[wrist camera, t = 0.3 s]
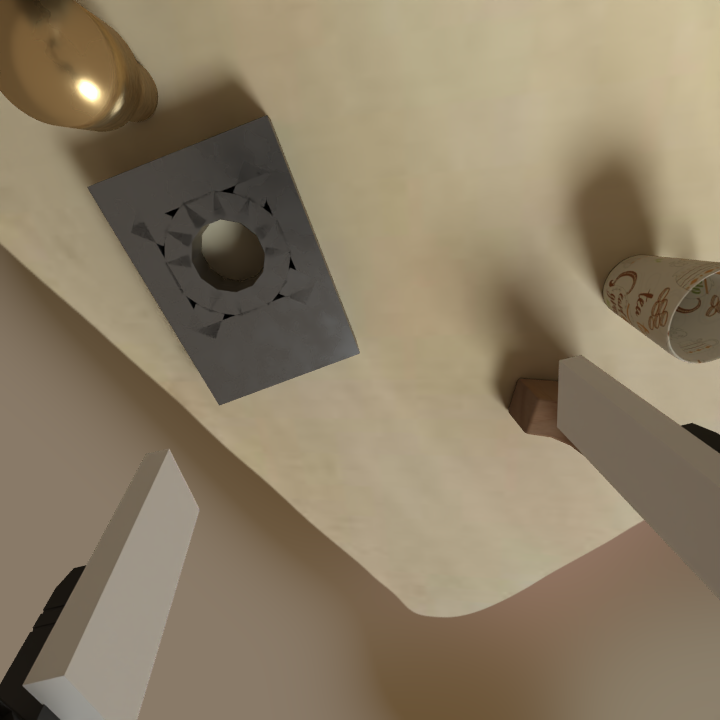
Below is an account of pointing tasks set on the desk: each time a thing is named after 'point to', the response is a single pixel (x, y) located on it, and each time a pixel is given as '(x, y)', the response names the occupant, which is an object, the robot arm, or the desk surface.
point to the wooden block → (537, 408)
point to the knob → (70, 67)
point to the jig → (223, 296)
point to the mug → (670, 303)
